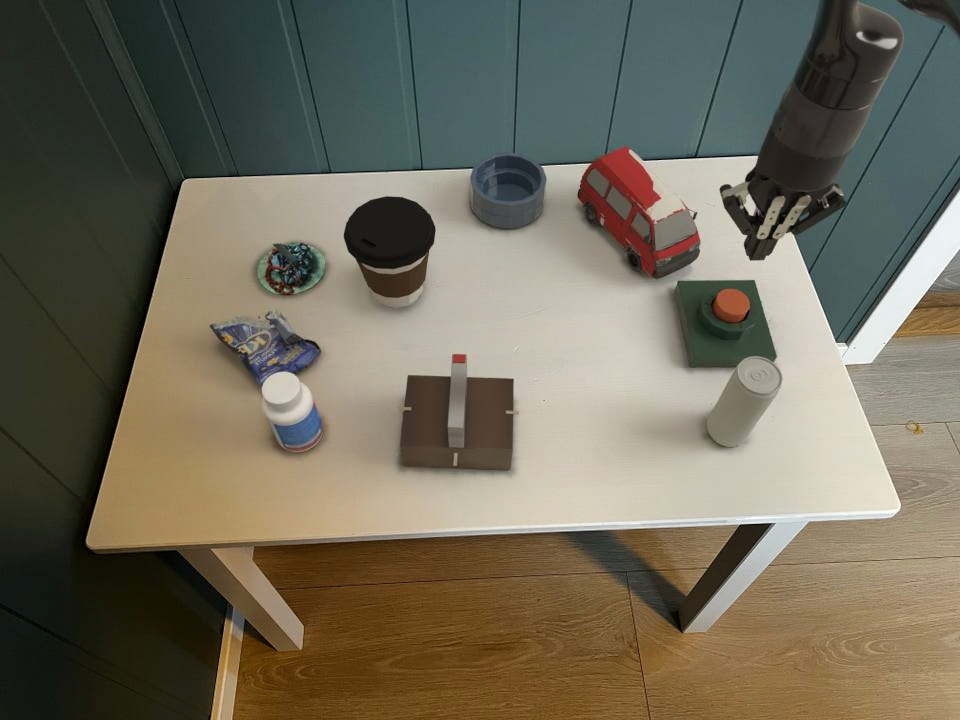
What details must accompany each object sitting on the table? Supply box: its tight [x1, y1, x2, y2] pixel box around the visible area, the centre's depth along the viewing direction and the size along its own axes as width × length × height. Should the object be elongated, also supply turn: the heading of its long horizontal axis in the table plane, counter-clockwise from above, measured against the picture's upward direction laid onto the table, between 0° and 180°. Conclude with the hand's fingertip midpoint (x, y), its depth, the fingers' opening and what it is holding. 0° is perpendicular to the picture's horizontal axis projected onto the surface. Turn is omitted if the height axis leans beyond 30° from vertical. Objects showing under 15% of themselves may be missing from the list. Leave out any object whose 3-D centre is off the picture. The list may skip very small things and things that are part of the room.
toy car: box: [576, 145, 701, 280], centre depth 97 cm, size 9×18×10 cm, turn 26°
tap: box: [448, 353, 469, 448], centre depth 78 cm, size 9×2×5 cm, turn 178°
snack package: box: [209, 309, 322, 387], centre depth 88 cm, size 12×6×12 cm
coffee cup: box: [343, 195, 437, 309], centre depth 91 cm, size 11×11×12 cm
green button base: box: [674, 279, 778, 368], centre depth 91 cm, size 12×10×4 cm
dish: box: [257, 241, 326, 296], centre depth 97 cm, size 8×7×8 cm
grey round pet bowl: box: [469, 151, 548, 229], centre depth 103 cm, size 10×10×5 cm
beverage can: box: [706, 356, 784, 448], centre depth 79 cm, size 5×5×12 cm
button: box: [713, 289, 750, 323], centre depth 89 cm, size 4×4×2 cm
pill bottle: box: [261, 372, 324, 453], centre depth 80 cm, size 6×5×10 cm
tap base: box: [397, 374, 520, 471], centre depth 82 cm, size 13×13×5 cm
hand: (754, 254), depth 81 cm, fingers closed
